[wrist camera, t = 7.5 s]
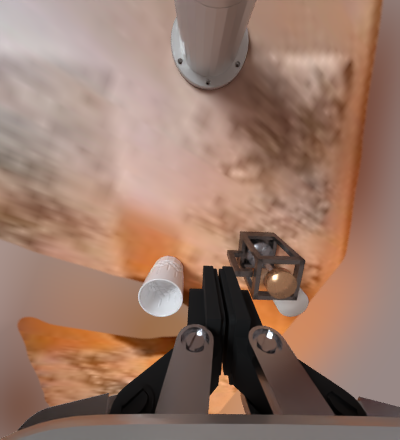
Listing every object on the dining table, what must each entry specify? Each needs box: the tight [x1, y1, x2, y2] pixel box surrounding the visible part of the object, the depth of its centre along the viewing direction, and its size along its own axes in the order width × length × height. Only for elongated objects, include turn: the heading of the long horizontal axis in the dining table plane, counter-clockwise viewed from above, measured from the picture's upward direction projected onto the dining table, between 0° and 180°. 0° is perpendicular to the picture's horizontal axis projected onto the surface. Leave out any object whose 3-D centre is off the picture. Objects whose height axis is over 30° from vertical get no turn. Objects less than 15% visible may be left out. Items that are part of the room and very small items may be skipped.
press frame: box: [227, 231, 305, 301], centre depth 36 cm, size 7×10×13 cm
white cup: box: [138, 256, 184, 317], centre depth 38 cm, size 8×8×10 cm
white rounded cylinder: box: [264, 272, 309, 317], centre depth 40 cm, size 6×6×8 cm
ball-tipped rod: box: [247, 242, 297, 299], centre depth 34 cm, size 5×5×11 cm
